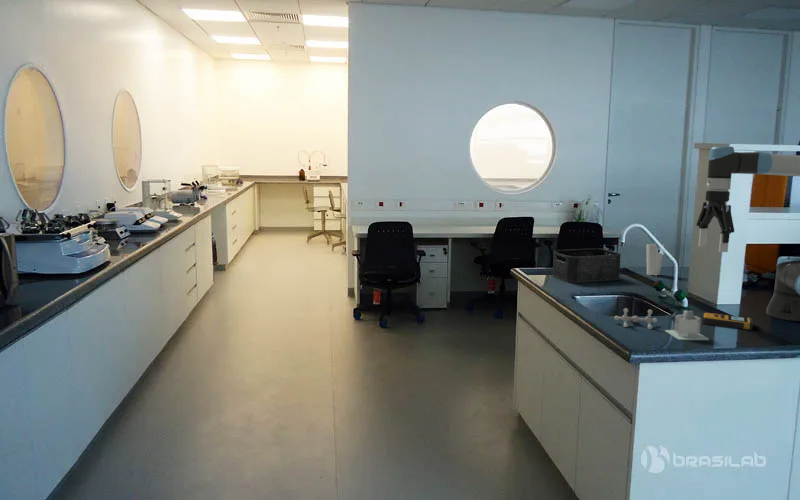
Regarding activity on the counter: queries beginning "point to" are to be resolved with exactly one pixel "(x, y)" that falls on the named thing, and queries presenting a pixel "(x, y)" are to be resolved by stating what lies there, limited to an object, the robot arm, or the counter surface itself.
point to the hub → (687, 326)
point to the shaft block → (687, 315)
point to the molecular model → (636, 318)
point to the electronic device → (727, 321)
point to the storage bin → (586, 265)
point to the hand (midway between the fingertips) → (712, 248)
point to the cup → (653, 259)
